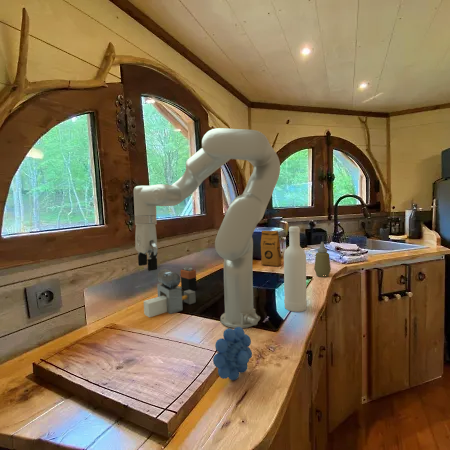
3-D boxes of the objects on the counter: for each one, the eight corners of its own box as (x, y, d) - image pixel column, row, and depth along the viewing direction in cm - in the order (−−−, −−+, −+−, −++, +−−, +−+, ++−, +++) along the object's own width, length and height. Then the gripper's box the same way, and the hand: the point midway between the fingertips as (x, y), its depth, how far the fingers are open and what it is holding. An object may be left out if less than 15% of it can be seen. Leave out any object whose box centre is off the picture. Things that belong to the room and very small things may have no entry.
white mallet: (195, 302, 106) (195, 290, 106) (149, 317, 93) (148, 303, 93) (190, 299, 109) (189, 288, 109) (144, 314, 96) (143, 300, 96)
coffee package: (277, 267, 160) (276, 231, 158) (259, 265, 167) (258, 231, 165) (283, 264, 168) (283, 230, 166) (265, 262, 175) (265, 229, 173)
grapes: (230, 403, 51) (228, 343, 50) (207, 387, 56) (205, 332, 55) (265, 374, 60) (264, 322, 59) (242, 362, 64) (241, 315, 63)
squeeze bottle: (313, 277, 136) (313, 242, 135) (314, 273, 144) (314, 240, 143) (330, 278, 133) (330, 243, 132) (330, 274, 141) (330, 240, 140)
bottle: (287, 302, 103) (285, 225, 100) (308, 305, 99) (307, 225, 97) (282, 310, 95) (280, 227, 93) (304, 313, 92) (303, 227, 90)
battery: (189, 291, 120) (188, 269, 120) (180, 288, 125) (179, 267, 125) (197, 289, 123) (196, 268, 123) (188, 286, 128) (187, 266, 128)
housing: (183, 310, 99) (181, 272, 98) (169, 314, 95) (167, 275, 94) (170, 302, 108) (168, 267, 107) (157, 305, 104) (155, 269, 103)
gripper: (127, 220, 99) (129, 265, 101) (143, 222, 85) (145, 274, 87) (147, 219, 104) (148, 262, 105) (165, 221, 90) (167, 270, 91)
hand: (147, 267), depth 96 cm, fingers open, 9 cm apart
